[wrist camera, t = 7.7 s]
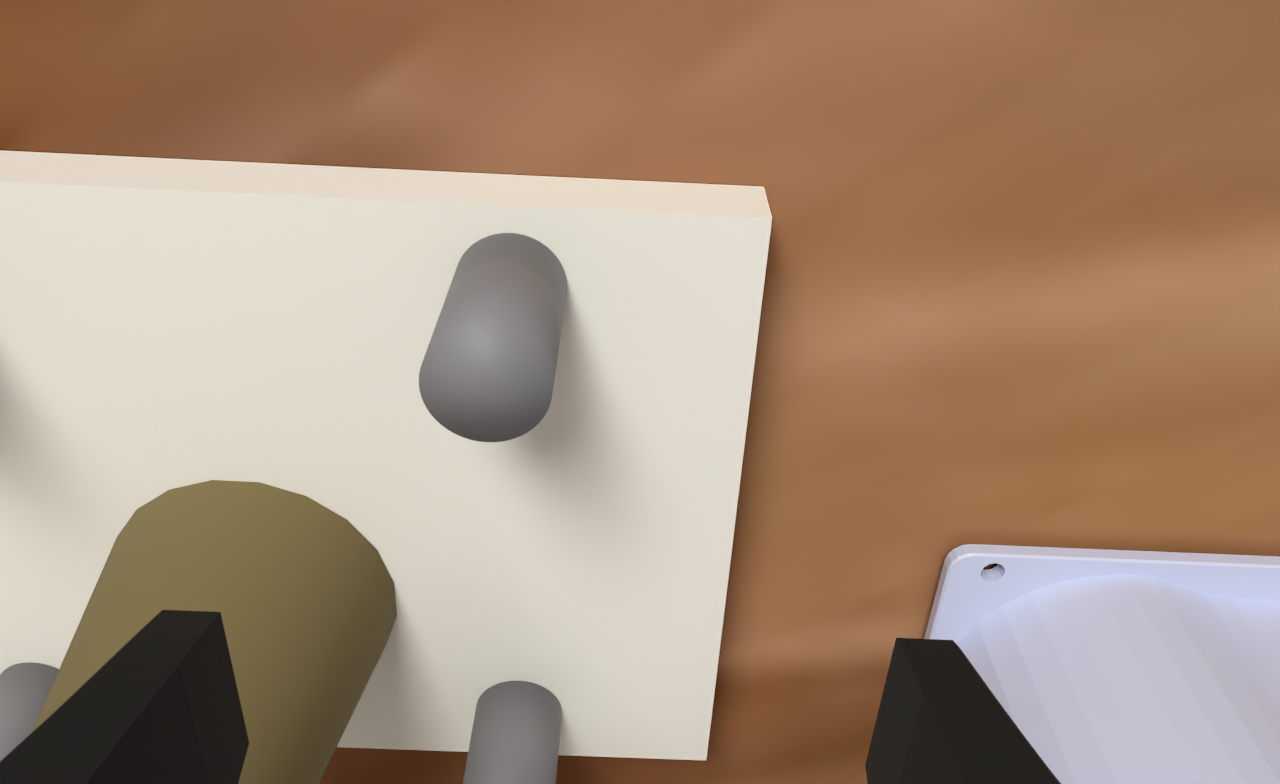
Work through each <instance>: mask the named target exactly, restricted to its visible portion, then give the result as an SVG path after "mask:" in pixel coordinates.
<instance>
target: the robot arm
mask: <svg viewBox="0 0 1280 784" xmlns="http://www.w3.org/2000/svg"><path fill="white" fill-rule="evenodd" d="M994 563H996V564H997V566H995V567H994V568H992V569H987V570H984V569H983V568H984V567H985V566H987V565H989V564H994ZM248 746H249V740H248V735H247V730H246V726H245V721H244V717H243V712H242V708H241V703H240V699H239V694H238V689H237V685H236V680H235V676H234V671H233V667H232V662H231V658H230V653H229V648H228V644H227V639H226V635H225V630H224V626H223V621H222V617H221V612H208V611H182V610H162V611H161V612H160V613H159V614H157V615H156V616H155V617H154V618H153V619H152V620H151V621H150V622H149V623H147V624H146V625H145V626H144V627H143V628H142V629H141V630H140V631H139V632H138V633H137V634H136V635H135V636H133V637H132V638H131V639H130V640H129V641H128V642H127V643H126V644H125V645H124V646H123V647H122V648H121V649H120V650H119V651H118V652H117V653H116V654H115V655H114V656H113V657H111V658H110V659H109V660H108V661H107V662H106V663H105V664H104V665H103V666H102V667H101V668H100V669H99V670H98V671H97V672H96V673H95V674H94V675H93V676H92V677H91V678H90V679H88V680H87V681H86V682H85V683H84V684H83V685H82V686H81V687H80V688H79V689H78V690H77V691H76V692H75V693H74V694H73V695H72V696H71V697H69V698H68V699H67V700H66V701H65V702H64V703H63V704H62V705H61V706H60V707H59V708H58V709H57V710H56V711H55V712H54V713H53V714H51V715H50V716H49V717H48V718H47V719H46V720H45V721H44V722H43V723H42V724H41V725H39V726H38V727H37V728H36V729H35V730H34V731H33V732H32V733H31V734H30V735H29V736H27V737H26V738H25V739H24V740H23V741H22V742H21V743H20V744H19V745H18V746H16V747H15V748H14V749H13V750H12V751H11V752H10V753H9V754H8V755H7V756H6V757H4V758H3V759H2V760H1V761H0V784H238V782H239V779H240V775H241V771H242V768H243V764H244V760H245V757H246V753H247V749H248ZM866 773H867V781H868V784H1280V557H1278V556H1254V555H1229V554H1204V553H1179V552H1155V551H1130V550H1105V549H1080V548H1056V547H1031V546H1006V545H981V544H967V545H961V546H959V547H957V548H954V549H953V550H952V551H951V552H950V553H948V555H947V557H946V558H945V560H944V564H943V568H942V572H941V576H940V579H939V583H938V587H937V591H936V595H935V599H934V602H933V606H932V610H931V614H930V618H929V621H928V625H927V629H926V633H925V637H924V639H910V638H896V641H895V646H894V650H893V654H892V658H891V662H890V666H889V670H888V674H887V679H886V683H885V687H884V691H883V695H882V699H881V703H880V707H879V712H878V716H877V720H876V724H875V728H874V732H873V736H872V740H871V745H870V749H869V753H868V757H867V761H866Z"/></svg>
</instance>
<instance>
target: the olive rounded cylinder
mask: <svg viewBox="0 0 1280 784" xmlns="http://www.w3.org/2000/svg"><path fill="white" fill-rule="evenodd" d="M162 610H182V611H208V612H221V617H222V621H223V626H224V630H225V635H226V639H227V644H228V648H229V653H230V658H231V662H232V667H233V671H234V676H235V680H236V685H237V689H238V694H239V699H240V703H241V708H242V712H243V717H244V721H245V726H246V730H247V735H248V740H249V746H248V749H247V753H246V757H245V760H244V764H243V768H242V771H241V775H240V779H239V782H238V784H319V782H320V780H321V778H322V776H323V774H324V772H325V770H326V768H327V766H328V764H329V762H330V760H331V758H332V756H333V754H334V751H335V749H336V747H337V745H338V743H339V741H340V739H341V737H342V735H343V733H344V731H345V729H346V727H347V725H348V723H349V721H350V718H351V716H352V714H353V712H354V710H355V708H356V706H357V704H358V702H359V700H360V698H361V696H362V694H363V692H364V690H365V687H366V685H367V683H368V681H369V679H370V677H371V675H372V673H373V671H374V669H375V667H376V665H377V663H378V661H379V659H380V656H381V654H382V652H383V650H384V648H385V646H386V644H387V641H388V638H389V636H390V633H391V630H392V627H393V625H394V622H395V619H396V616H397V611H396V599H395V588H394V582H393V580H392V578H391V576H390V574H389V572H388V570H387V568H386V566H385V564H384V562H383V560H382V558H381V556H380V554H379V552H378V550H377V549H376V548H375V547H374V546H373V545H372V544H371V543H370V542H369V541H368V540H367V539H366V538H365V537H364V536H363V535H362V534H361V533H360V532H359V531H358V530H357V529H356V528H355V527H354V526H353V525H352V524H351V523H350V522H349V521H348V520H347V519H345V518H344V517H342V516H340V515H338V514H337V513H335V512H333V511H331V510H330V509H328V508H326V507H324V506H323V505H321V504H319V503H318V502H316V501H314V500H312V499H311V498H309V497H307V496H304V495H301V494H298V493H294V492H291V491H287V490H284V489H281V488H277V487H274V486H270V485H267V484H264V483H260V482H242V481H222V480H210V481H206V482H201V483H197V484H192V485H188V486H183V487H179V488H174V489H170V490H168V491H166V492H164V493H163V494H161V495H160V496H158V497H156V498H155V499H153V500H151V501H150V502H148V503H146V504H145V505H143V506H141V507H140V508H138V509H136V511H135V512H134V514H133V515H132V516H131V518H130V519H129V521H128V522H127V523H126V525H125V526H124V528H123V529H122V530H121V532H120V533H119V535H118V536H117V538H116V540H115V542H114V544H113V547H112V549H111V551H110V554H109V556H108V558H107V561H106V563H105V565H104V567H103V570H102V572H101V574H100V577H99V579H98V581H97V584H96V586H95V588H94V590H93V593H92V595H91V597H90V600H89V602H88V604H87V607H86V609H85V611H84V613H83V616H82V618H81V620H80V623H79V625H78V627H77V630H76V632H75V634H74V636H73V639H72V641H71V643H70V646H69V648H68V650H67V652H66V655H65V657H64V659H63V662H62V664H61V666H60V669H59V671H58V673H57V675H56V678H55V680H54V682H53V685H52V687H51V689H50V692H49V694H48V696H47V698H46V701H45V703H44V705H43V708H42V710H41V712H40V715H39V717H38V719H37V721H36V724H35V726H34V728H33V731H34V730H35V729H36V728H37V727H38V726H39V725H41V724H42V723H43V722H44V721H45V720H46V719H47V718H48V717H49V716H50V715H51V714H53V713H54V712H55V711H56V710H57V709H58V708H59V707H60V706H61V705H62V704H63V703H64V702H65V701H66V700H67V699H68V698H69V697H71V696H72V695H73V694H74V693H75V692H76V691H77V690H78V689H79V688H80V687H81V686H82V685H83V684H84V683H85V682H86V681H87V680H88V679H90V678H91V677H92V676H93V675H94V674H95V673H96V672H97V671H98V670H99V669H100V668H101V667H102V666H103V665H104V664H105V663H106V662H107V661H108V660H109V659H110V658H111V657H113V656H114V655H115V654H116V653H117V652H118V651H119V650H120V649H121V648H122V647H123V646H124V645H125V644H126V643H127V642H128V641H129V640H130V639H131V638H132V637H133V636H135V635H136V634H137V633H138V632H139V631H140V630H141V629H142V628H143V627H144V626H145V625H146V624H147V623H149V622H150V621H151V620H152V619H153V618H154V617H155V616H156V615H157V614H159V613H160V612H161V611H162ZM33 731H32V732H33Z"/></svg>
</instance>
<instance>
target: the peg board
mask: <svg viewBox="0 0 1280 784" xmlns="http://www.w3.org/2000/svg"><path fill="white" fill-rule="evenodd" d="M771 224H772V215H771V212H770V208H769V204H768V200H767V197H766V193H765V189H764V187H760V186H739V185H718V184H697V183H675V182H654V181H633V180H612V179H591V178H570V177H549V176H528V175H507V174H485V173H464V172H443V171H422V170H401V169H380V168H359V167H338V166H317V165H296V164H274V163H253V162H232V161H211V160H190V159H169V158H148V157H127V156H106V155H85V154H63V153H42V152H21V151H0V761H1V760H2V759H3V758H4V757H6V756H7V755H8V754H9V753H10V752H11V751H12V750H13V749H14V748H15V747H16V746H18V745H19V744H20V743H21V742H22V741H23V740H24V739H25V738H26V737H27V736H29V735H30V734H31V733H32V731H33V728H34V726H35V724H36V721H37V719H38V717H39V715H40V712H41V710H42V708H43V705H44V703H45V701H46V698H47V696H48V694H49V692H50V689H51V687H52V685H53V682H54V680H55V678H56V675H57V673H58V671H59V669H60V666H61V664H62V662H63V659H64V657H65V655H66V652H67V650H68V648H69V646H70V643H71V641H72V639H73V636H74V634H75V632H76V630H77V627H78V625H79V623H80V620H81V618H82V616H83V613H84V611H85V609H86V607H87V604H88V602H89V600H90V597H91V595H92V593H93V590H94V588H95V586H96V584H97V581H98V579H99V577H100V574H101V572H102V570H103V567H104V565H105V563H106V561H107V558H108V556H109V554H110V551H111V549H112V547H113V544H114V542H115V540H116V538H117V536H118V535H119V533H120V532H121V530H122V529H123V528H124V526H125V525H126V523H127V522H128V521H129V519H130V518H131V516H132V515H133V514H134V512H135V511H136V509H138V508H140V507H141V506H143V505H145V504H146V503H148V502H150V501H151V500H153V499H155V498H156V497H158V496H160V495H161V494H163V493H164V492H166V491H168V490H170V489H174V488H179V487H183V486H188V485H192V484H197V483H201V482H206V481H210V480H222V481H242V482H260V483H264V484H267V485H270V486H274V487H277V488H281V489H284V490H287V491H291V492H294V493H298V494H301V495H304V496H307V497H309V498H311V499H312V500H314V501H316V502H318V503H319V504H321V505H323V506H324V507H326V508H328V509H330V510H331V511H333V512H335V513H337V514H338V515H340V516H342V517H344V518H345V519H347V520H348V521H349V522H350V523H351V524H352V525H353V526H354V527H355V528H356V529H357V530H358V531H359V532H360V533H361V534H362V535H363V536H364V537H365V538H366V539H367V540H368V541H369V542H370V543H371V544H372V545H373V546H374V547H375V548H376V549H377V550H378V552H379V554H380V556H381V558H382V560H383V562H384V564H385V566H386V568H387V570H388V572H389V574H390V576H391V578H392V580H393V582H394V588H395V599H396V611H397V616H396V619H395V622H394V625H393V627H392V630H391V633H390V636H389V638H388V641H387V644H386V646H385V648H384V650H383V652H382V654H381V656H380V659H379V661H378V663H377V665H376V667H375V669H374V671H373V673H372V675H371V677H370V679H369V681H368V683H367V685H366V687H365V690H364V692H363V694H362V696H361V698H360V700H359V702H358V704H357V706H356V708H355V710H354V712H353V714H352V716H351V718H350V721H349V723H348V725H347V727H346V729H345V731H344V733H343V735H342V737H341V739H340V741H339V743H338V745H337V747H345V748H373V749H400V750H428V751H456V752H468V756H467V762H466V767H465V773H464V779H463V784H556V776H557V765H558V755H568V756H596V757H624V758H652V759H679V760H706V759H707V750H708V742H709V734H710V726H711V718H712V709H713V701H714V693H715V685H716V676H717V668H718V660H719V652H720V643H721V635H722V627H723V619H724V611H725V602H726V594H727V586H728V578H729V569H730V561H731V553H732V545H733V536H734V528H735V520H736V512H737V504H738V495H739V487H740V479H741V471H742V462H743V454H744V446H745V438H746V430H747V421H748V413H749V405H750V397H751V388H752V380H753V372H754V364H755V355H756V347H757V339H758V331H759V323H760V314H761V306H762V298H763V290H764V281H765V273H766V265H767V257H768V248H769V240H770V232H771Z"/></svg>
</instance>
